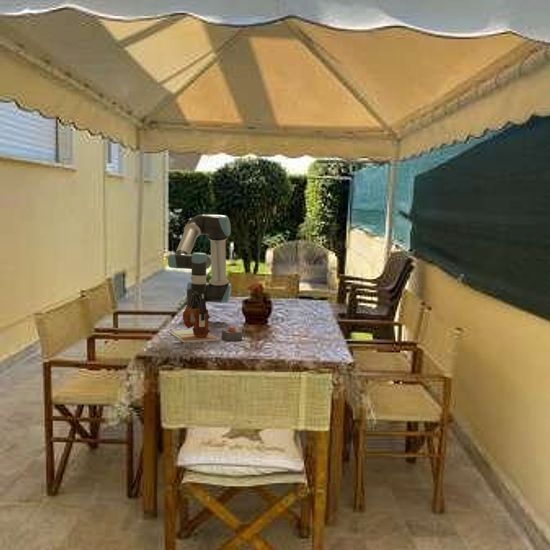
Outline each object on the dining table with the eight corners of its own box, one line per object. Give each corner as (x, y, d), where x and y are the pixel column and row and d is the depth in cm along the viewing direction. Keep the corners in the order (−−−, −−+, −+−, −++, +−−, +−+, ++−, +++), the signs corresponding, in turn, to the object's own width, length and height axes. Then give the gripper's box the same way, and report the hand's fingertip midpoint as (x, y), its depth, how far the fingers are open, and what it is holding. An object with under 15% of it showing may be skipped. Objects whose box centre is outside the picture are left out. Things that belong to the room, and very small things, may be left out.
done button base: (221, 337, 334) (221, 329, 333) (235, 336, 337) (236, 329, 337) (227, 340, 327) (227, 332, 326) (241, 339, 330) (241, 331, 330)
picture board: (169, 332, 340) (169, 330, 340) (201, 330, 348) (201, 328, 348) (183, 342, 317) (183, 340, 317) (218, 340, 325) (218, 338, 325)
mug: (212, 335, 330) (213, 307, 329) (206, 338, 322) (207, 309, 321) (186, 333, 334) (186, 305, 332) (180, 336, 326) (180, 307, 324)
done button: (227, 333, 332) (227, 326, 332) (233, 332, 334) (233, 326, 334) (229, 334, 329) (230, 327, 329) (236, 334, 331) (236, 327, 330)
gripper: (184, 280, 333) (183, 319, 336) (199, 286, 311) (198, 329, 314) (197, 279, 337) (196, 319, 339) (214, 286, 314) (212, 328, 317)
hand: (197, 324), depth 326 cm, fingers open, 13 cm apart
